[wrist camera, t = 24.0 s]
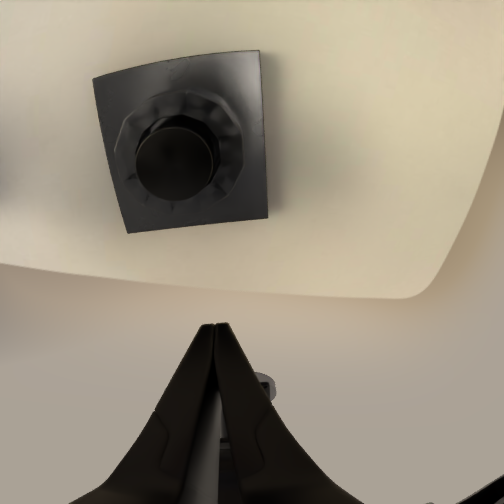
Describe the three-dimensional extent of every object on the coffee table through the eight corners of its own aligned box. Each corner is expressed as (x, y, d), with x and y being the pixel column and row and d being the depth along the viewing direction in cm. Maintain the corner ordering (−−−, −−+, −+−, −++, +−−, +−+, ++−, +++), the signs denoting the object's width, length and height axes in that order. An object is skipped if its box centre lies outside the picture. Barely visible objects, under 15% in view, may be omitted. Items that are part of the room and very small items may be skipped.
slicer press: (265, 209, 19) (272, 234, 17) (131, 224, 19) (119, 250, 17) (257, 51, 13) (263, 47, 11) (100, 77, 13) (77, 81, 11)
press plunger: (217, 182, 15) (217, 196, 14) (151, 191, 15) (143, 206, 14) (210, 115, 13) (208, 121, 12) (138, 126, 13) (128, 134, 12)
